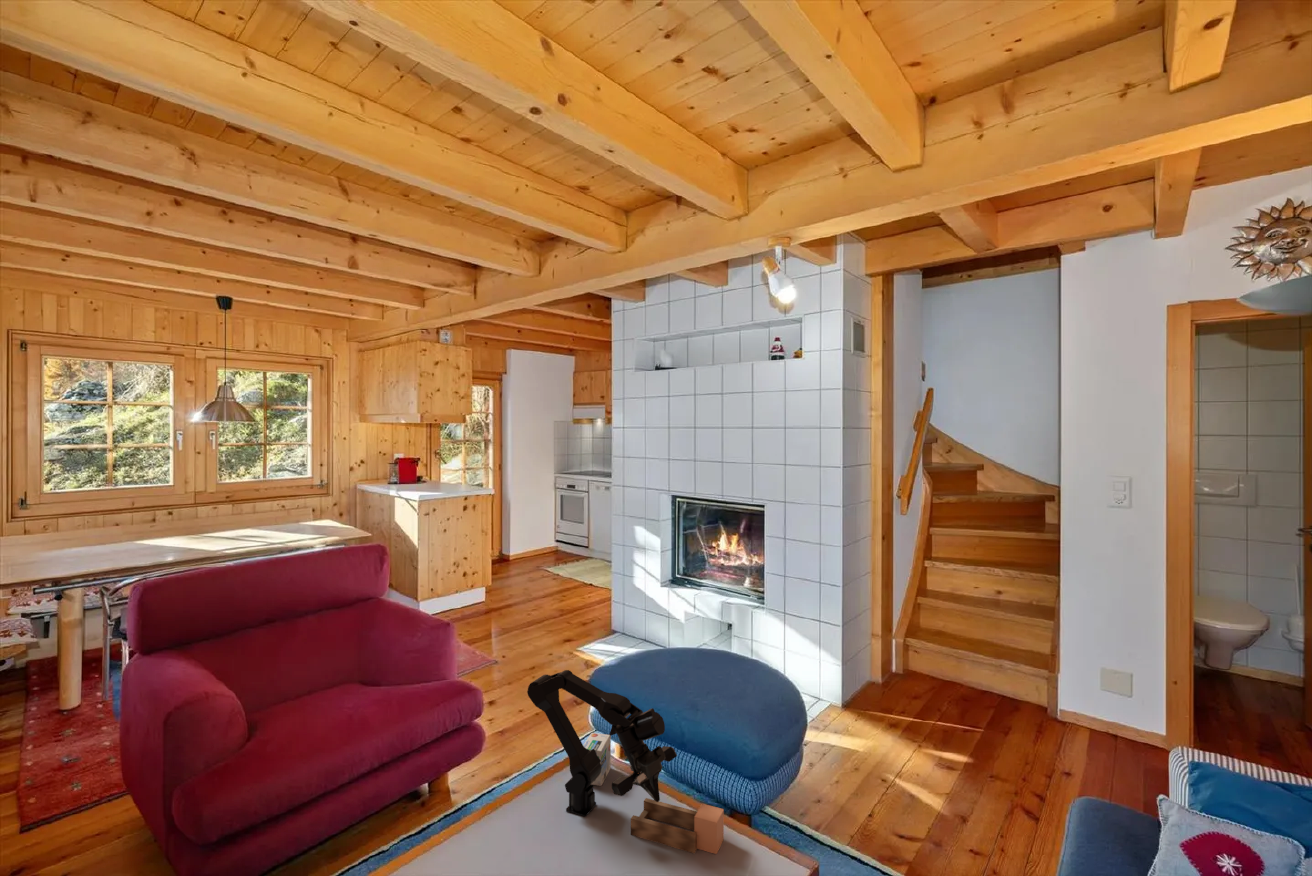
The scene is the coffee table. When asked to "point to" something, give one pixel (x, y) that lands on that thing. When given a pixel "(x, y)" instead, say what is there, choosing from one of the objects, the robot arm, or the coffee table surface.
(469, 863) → the coffee table surface
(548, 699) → the robot arm
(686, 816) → the walnut chute
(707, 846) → the terracotta block
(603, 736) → the light bulb box
